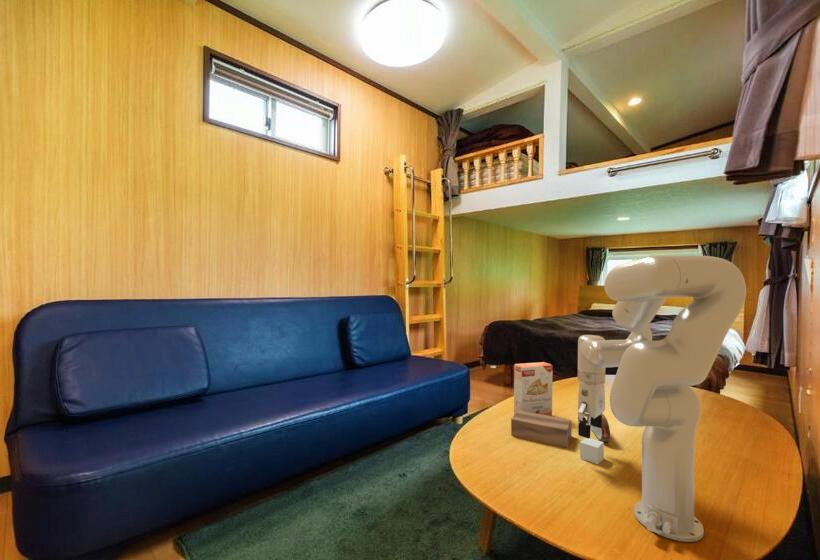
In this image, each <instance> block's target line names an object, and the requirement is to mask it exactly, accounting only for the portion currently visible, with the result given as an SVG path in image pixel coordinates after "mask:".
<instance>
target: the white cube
mask: <svg viewBox="0 0 820 560" xmlns="http://www.w3.org/2000/svg"><path fill="white" fill-rule="evenodd" d="M579 443H580V444H579V455H580V456H579V459H581V460H582V461H583V460H584V461H587V462H589V463H592V464H595V465H599V464H600V463H602V461H603V460H604V457H605V452H604V451H605V450H604V449H605V448H604V447H605V446H604V445H605V443H604V442H603V441H599V439H598V440H597V439H594V438H591V437H590V438H589V439H588V438H585V437H584V439H582V440H581V441H580V442H579Z"/></svg>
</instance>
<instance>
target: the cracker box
mask: <svg viewBox="0 0 820 560" xmlns="http://www.w3.org/2000/svg"><path fill="white" fill-rule="evenodd" d="M513 365H514V367H513V368H514V370H513V371H514V372H513V373H514V376H513V377H514V381H513V382H514V383H513V386H514V387H513V416H514V415H515V414H516V413H517V412H518V410H522V411H527V412H532V413H538V414H543V415H548V416H553V378H554V377H553V376H554V375H553V368H554V367H553V365H552V364H551V363H547V362H545V361H542V362H541V361H540V362H539V361H538V362H526V363H515V364H513Z"/></svg>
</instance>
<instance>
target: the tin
mask: <svg viewBox="0 0 820 560" xmlns="http://www.w3.org/2000/svg"><path fill="white" fill-rule="evenodd" d="M607 419H608V418H607V417H606V416H605V414H604V412H603V413H602V427H601V428H598V427H595V426H591V425H590V424H589V425H590V430H591V431H592V432H593V434H594V435H595V437H596V438H597V439H598V441H601V442H607V443H609V442H610V441H611V430H610V424H609V422H608V420H607Z"/></svg>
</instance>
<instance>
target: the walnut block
mask: <svg viewBox="0 0 820 560" xmlns="http://www.w3.org/2000/svg"><path fill="white" fill-rule="evenodd" d="M510 420H511V421H510V423H511V424H510V433H511V434H510V435H511V436H513V435H514V436H513V437H517V436H519V437H518V438H521V437H523V438H522V439H526V438H527V439H526V440H530V439H531V440H532V441H534V440H535V442H539V443H544V444H548V445H553V446H557V447H561V448H566V449H567V448H568V447H569V445H570V441H571V439H572V419H568V418H564V417H558V416H553V415H552V416H548V415H543V414H538V413H532V412H527V411H522V410H518V412H517V413H516V414H515V415H514V414H513V416H512V417H511V419H510ZM570 438H571V439H570ZM531 440H530V441H531Z"/></svg>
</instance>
